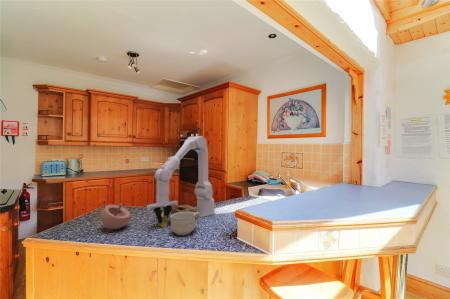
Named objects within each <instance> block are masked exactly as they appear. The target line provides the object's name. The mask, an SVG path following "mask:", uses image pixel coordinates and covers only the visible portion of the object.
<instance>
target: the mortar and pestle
mask: <svg viewBox="0 0 450 299" xmlns="http://www.w3.org/2000/svg"><path fill="white" fill-rule="evenodd" d="M131 216H132V215H131V211H129V210H128V209H126V208H125V207H123V204H122V203H121V202H120V203H118V205H117V204H107V205H106V206H105V207H104V208H103V209H102V211H101V214H100V221H101V224H102V225H103V226H104V227H105V228H107V229H109V230H119V229H121V228H123V227H124V226H126V224H128V222H129V221H130V219H131Z"/></svg>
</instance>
